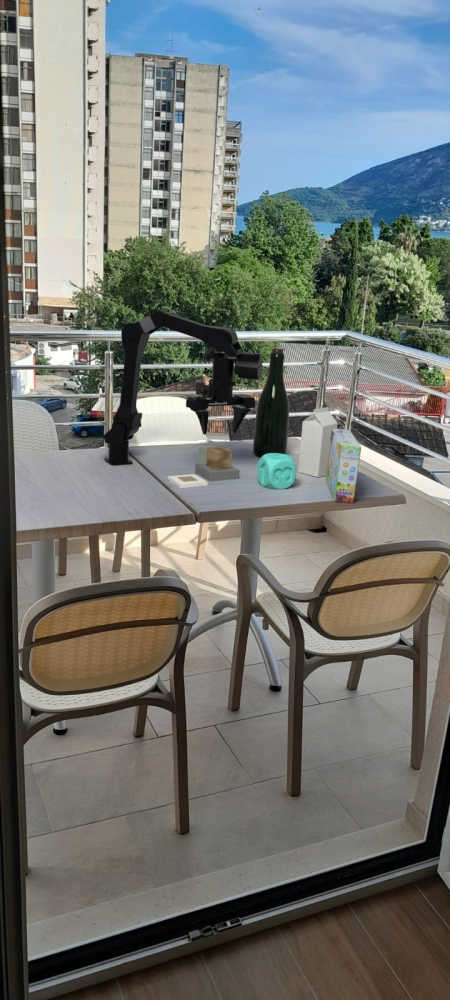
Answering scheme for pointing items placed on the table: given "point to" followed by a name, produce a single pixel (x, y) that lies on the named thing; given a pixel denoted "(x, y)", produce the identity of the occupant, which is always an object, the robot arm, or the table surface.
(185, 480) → the tile
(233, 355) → the robot arm
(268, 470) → the decorative dice
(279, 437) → the green wine bottle
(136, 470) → the table surface
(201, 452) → the sage cube
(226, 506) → the table surface
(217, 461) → the walnut cube
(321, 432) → the milk carton
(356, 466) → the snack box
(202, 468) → the charcoal base block
